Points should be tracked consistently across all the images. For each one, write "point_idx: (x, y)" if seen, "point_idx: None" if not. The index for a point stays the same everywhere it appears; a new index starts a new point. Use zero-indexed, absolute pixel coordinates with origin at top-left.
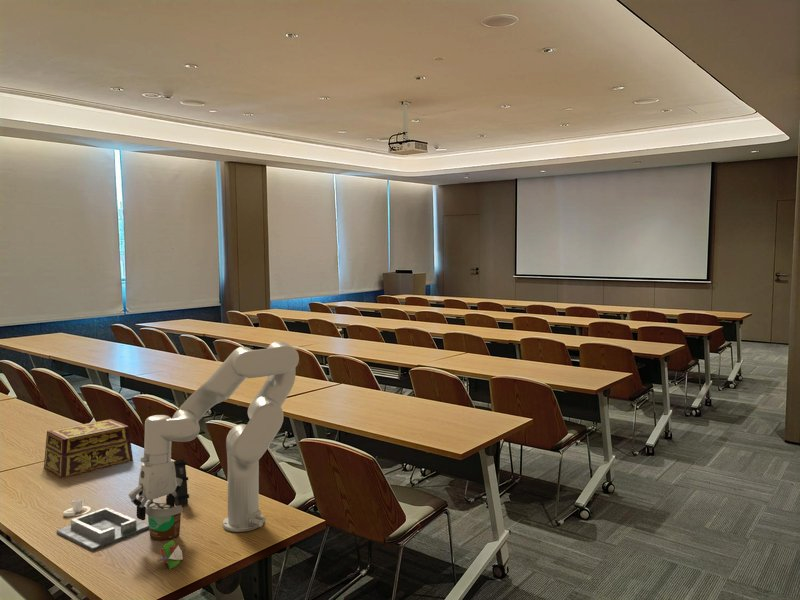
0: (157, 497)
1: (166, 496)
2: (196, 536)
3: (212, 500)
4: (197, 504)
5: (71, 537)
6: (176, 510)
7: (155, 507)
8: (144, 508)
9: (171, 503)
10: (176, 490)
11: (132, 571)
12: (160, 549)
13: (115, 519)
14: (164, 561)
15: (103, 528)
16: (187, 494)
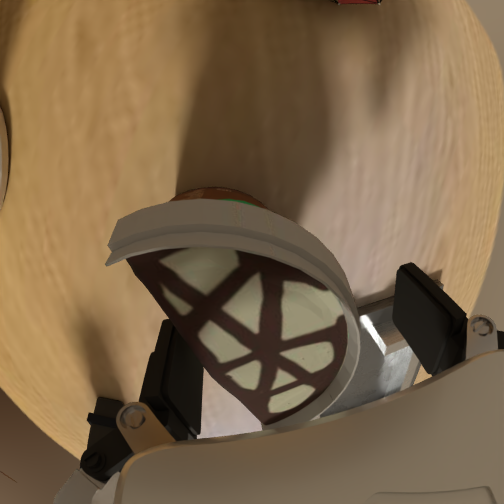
0: (417, 387)
1: (199, 431)
2: (110, 146)
3: (37, 376)
4: (72, 384)
5: (420, 363)
6: (176, 217)
7: (296, 366)
8: (456, 309)
9: (177, 360)
10: (115, 449)
11: (433, 58)
12: (378, 4)
13: None
14: (343, 2)
15: (357, 381)
16: (91, 423)
